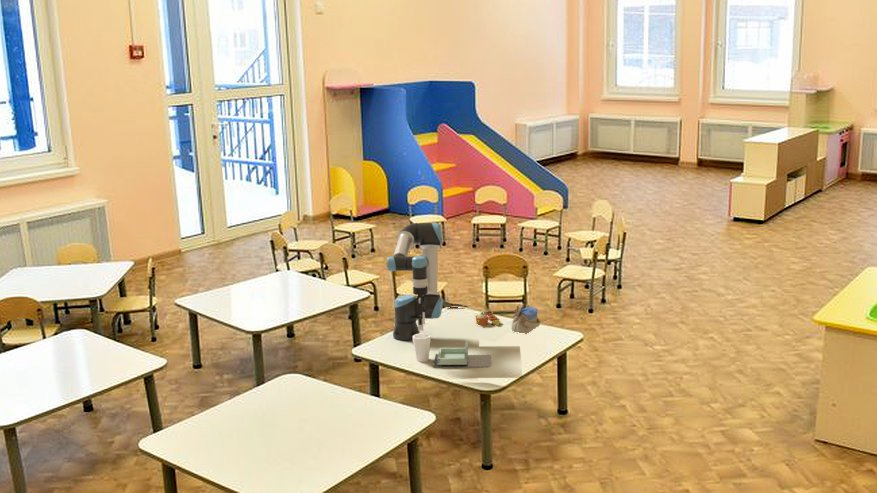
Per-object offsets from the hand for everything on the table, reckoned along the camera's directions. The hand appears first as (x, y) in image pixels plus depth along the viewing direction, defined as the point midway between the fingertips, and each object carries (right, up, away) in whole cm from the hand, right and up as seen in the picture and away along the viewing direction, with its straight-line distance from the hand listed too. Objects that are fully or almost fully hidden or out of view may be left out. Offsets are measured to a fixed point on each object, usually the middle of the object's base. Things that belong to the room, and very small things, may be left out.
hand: (421, 327), depth 452 cm
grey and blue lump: (+60, -6, +50) cm, 79 cm away
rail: (+22, -18, -1) cm, 28 cm away
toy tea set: (+37, -4, +63) cm, 74 cm away
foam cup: (0, -18, +4) cm, 18 cm away
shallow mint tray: (+16, -18, -1) cm, 24 cm away
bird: (+19, 0, +86) cm, 88 cm away
